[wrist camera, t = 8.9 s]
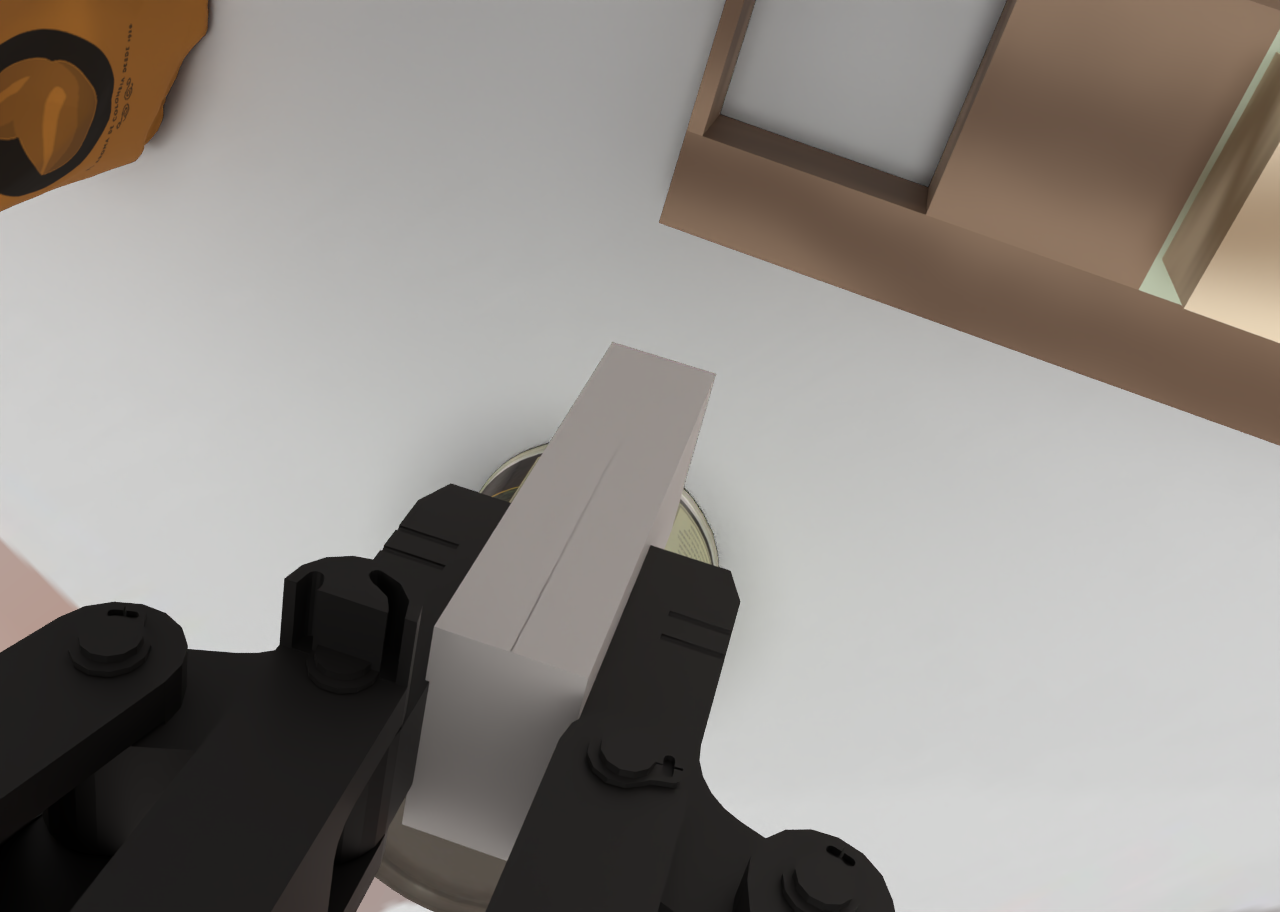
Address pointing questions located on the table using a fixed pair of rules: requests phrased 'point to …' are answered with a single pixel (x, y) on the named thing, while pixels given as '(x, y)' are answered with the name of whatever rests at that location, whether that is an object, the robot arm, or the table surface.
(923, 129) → the table surface
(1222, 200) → the maple block
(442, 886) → the coffee can
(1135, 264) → the trap deck
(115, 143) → the coffee package
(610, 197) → the table surface
